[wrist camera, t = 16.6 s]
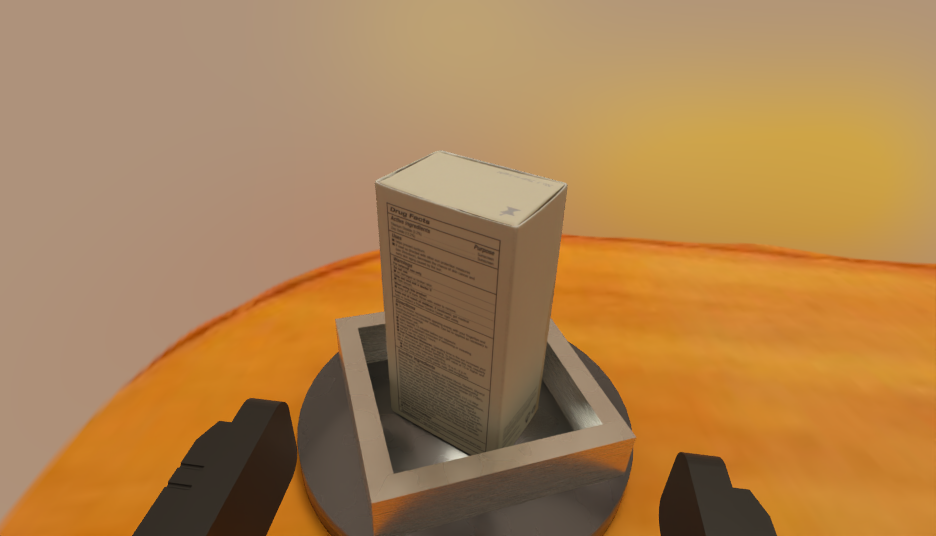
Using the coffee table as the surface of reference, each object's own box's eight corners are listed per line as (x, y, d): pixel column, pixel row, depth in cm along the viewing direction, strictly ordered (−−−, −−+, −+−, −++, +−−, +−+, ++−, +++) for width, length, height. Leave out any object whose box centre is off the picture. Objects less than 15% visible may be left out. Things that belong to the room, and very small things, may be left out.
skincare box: (539, 411, 27) (578, 183, 20) (493, 475, 24) (522, 228, 17) (435, 360, 30) (441, 144, 23) (381, 411, 27) (370, 177, 20)
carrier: (543, 312, 36) (551, 261, 34) (698, 531, 24) (726, 472, 22) (291, 354, 32) (282, 298, 30) (317, 653, 19) (304, 593, 17)
